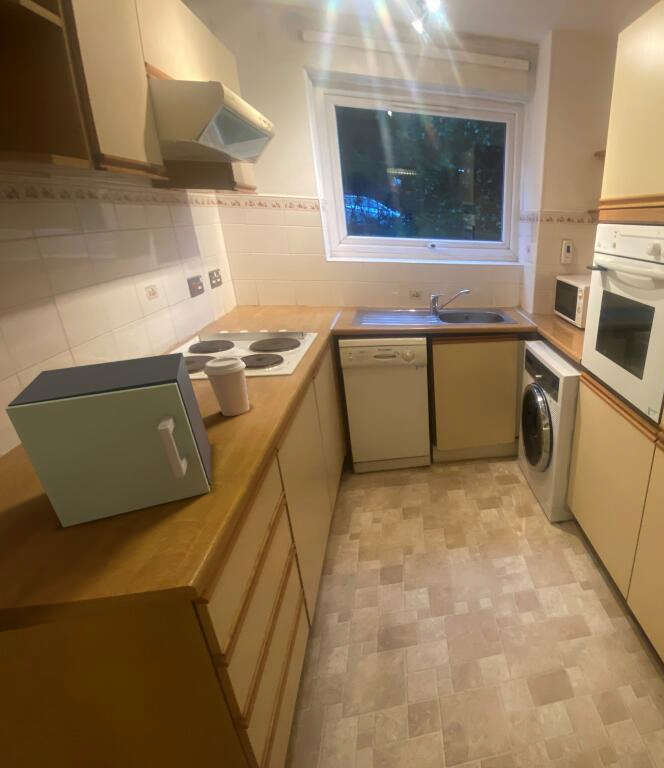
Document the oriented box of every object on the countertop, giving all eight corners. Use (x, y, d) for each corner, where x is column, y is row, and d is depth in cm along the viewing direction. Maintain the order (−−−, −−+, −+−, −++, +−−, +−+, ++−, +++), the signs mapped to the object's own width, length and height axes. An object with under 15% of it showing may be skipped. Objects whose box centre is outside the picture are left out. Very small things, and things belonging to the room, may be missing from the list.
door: (207, 509, 82) (170, 396, 73) (50, 550, 72) (-15, 424, 63) (210, 490, 88) (176, 382, 79) (65, 525, 78) (7, 406, 69)
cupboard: (210, 486, 89) (177, 378, 80) (65, 525, 78) (7, 405, 69) (211, 447, 103) (182, 352, 94) (88, 476, 92) (42, 371, 83)
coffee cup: (261, 403, 126) (249, 354, 120) (248, 418, 117) (235, 366, 112) (225, 406, 124) (211, 356, 119) (209, 421, 116) (194, 368, 110)
